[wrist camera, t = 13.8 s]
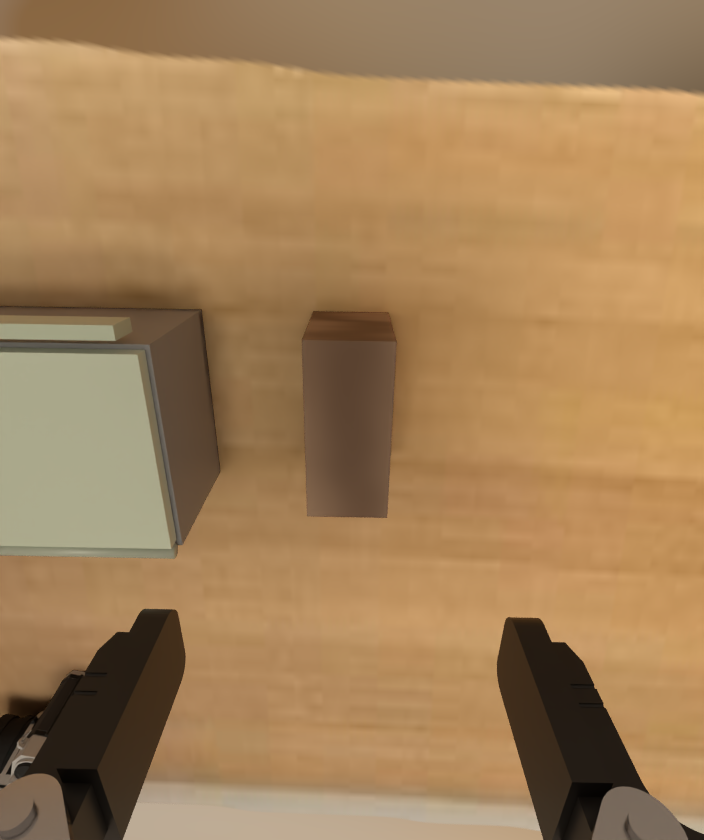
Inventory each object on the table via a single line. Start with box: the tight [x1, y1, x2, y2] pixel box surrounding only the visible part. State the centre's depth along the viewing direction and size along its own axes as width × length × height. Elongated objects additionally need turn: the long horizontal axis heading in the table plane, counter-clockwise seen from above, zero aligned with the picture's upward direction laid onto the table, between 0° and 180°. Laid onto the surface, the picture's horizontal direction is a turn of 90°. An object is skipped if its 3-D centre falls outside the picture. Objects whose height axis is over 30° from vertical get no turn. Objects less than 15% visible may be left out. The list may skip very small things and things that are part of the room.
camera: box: [0, 670, 85, 790], centre depth 35 cm, size 13×8×9 cm, turn 166°
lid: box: [0, 315, 178, 559], centre depth 21 cm, size 13×11×2 cm
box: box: [0, 306, 220, 545], centre depth 24 cm, size 13×10×7 cm
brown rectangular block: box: [302, 311, 397, 518], centre depth 25 cm, size 4×9×6 cm, turn 179°
